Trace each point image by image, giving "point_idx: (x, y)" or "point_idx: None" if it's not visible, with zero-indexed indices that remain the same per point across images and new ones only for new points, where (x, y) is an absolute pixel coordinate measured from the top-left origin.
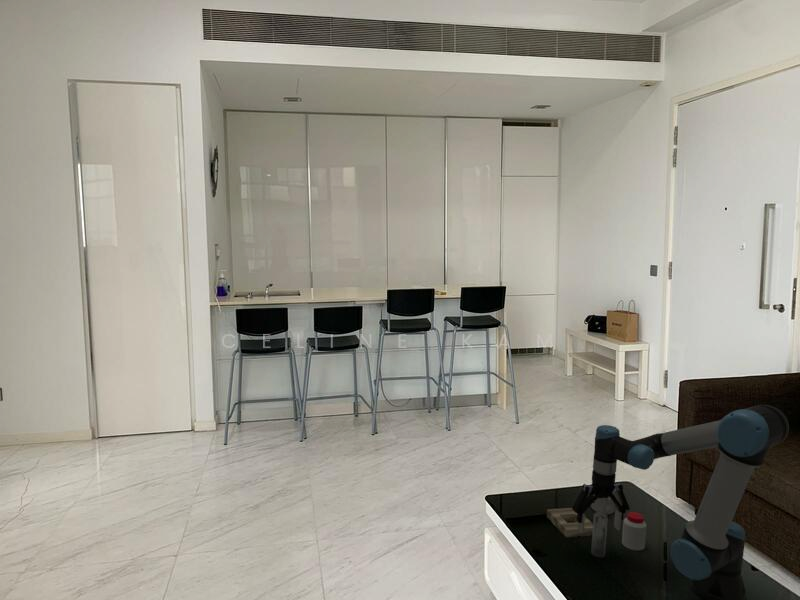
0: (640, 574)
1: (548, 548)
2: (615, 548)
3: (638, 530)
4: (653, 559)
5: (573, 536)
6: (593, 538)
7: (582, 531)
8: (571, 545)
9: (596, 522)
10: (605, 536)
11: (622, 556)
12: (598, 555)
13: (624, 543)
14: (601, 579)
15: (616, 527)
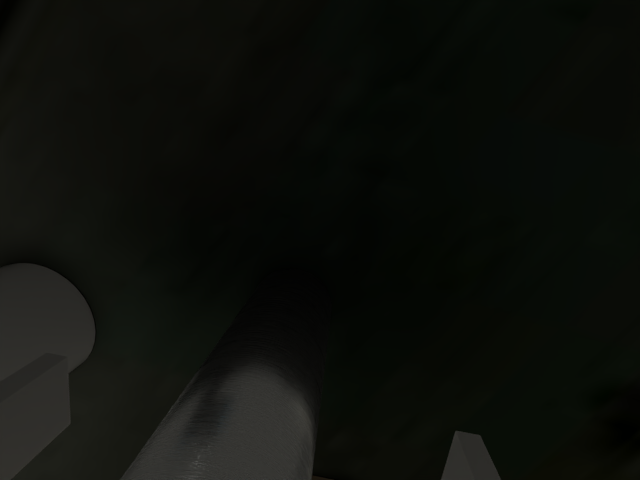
0: (176, 29)
1: (534, 436)
2: (157, 320)
3: None
4: (2, 158)
5: (314, 478)
6: (323, 373)
7: (479, 449)
8: (382, 418)
9: None
10: (233, 339)
11: (166, 241)
12: (313, 280)
13: (82, 331)
14: (475, 50)
15: (53, 397)
